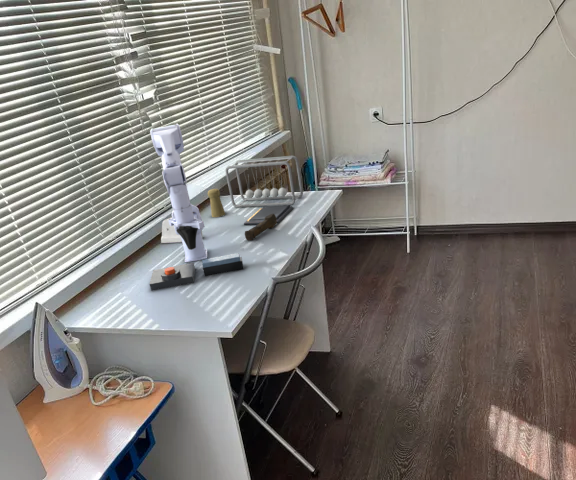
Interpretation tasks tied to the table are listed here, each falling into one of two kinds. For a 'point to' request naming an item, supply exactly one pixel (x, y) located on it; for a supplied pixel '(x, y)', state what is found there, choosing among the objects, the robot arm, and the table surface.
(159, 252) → the table surface
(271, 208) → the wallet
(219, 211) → the cork
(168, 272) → the button
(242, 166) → the newton's cradle
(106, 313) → the table surface
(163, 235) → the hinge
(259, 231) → the hand tool
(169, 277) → the control box
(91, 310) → the table surface
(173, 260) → the table surface
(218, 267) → the black and grey bar
